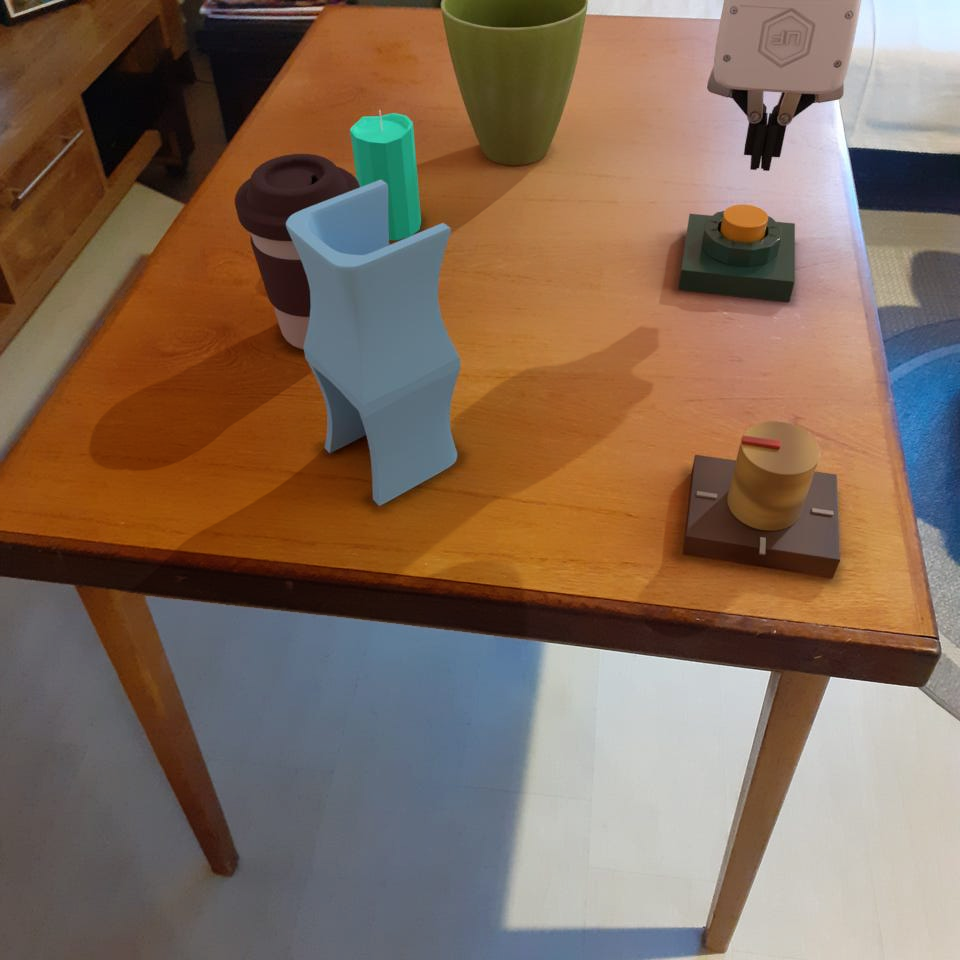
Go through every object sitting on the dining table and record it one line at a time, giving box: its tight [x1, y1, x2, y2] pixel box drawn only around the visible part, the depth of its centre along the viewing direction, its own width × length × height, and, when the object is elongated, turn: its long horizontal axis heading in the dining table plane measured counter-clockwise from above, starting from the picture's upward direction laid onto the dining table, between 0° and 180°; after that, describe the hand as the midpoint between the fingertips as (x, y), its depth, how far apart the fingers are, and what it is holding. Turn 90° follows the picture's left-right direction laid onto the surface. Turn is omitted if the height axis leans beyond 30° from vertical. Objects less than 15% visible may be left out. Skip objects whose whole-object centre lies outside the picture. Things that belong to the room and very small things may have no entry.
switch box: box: [677, 210, 796, 303], centre depth 86 cm, size 10×10×4 cm
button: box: [720, 204, 769, 243], centre depth 84 cm, size 4×4×2 cm
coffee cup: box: [234, 153, 360, 351], centre depth 77 cm, size 10×10×15 cm
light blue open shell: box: [286, 180, 461, 507], centre depth 64 cm, size 8×8×20 cm
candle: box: [349, 109, 422, 242], centre depth 90 cm, size 6×6×12 cm
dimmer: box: [682, 454, 841, 579], centre depth 64 cm, size 10×9×2 cm
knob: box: [727, 420, 821, 531], centre depth 62 cm, size 5×5×6 cm
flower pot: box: [440, 0, 589, 166], centre depth 99 cm, size 15×15×16 cm
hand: (760, 162), depth 79 cm, fingers closed
